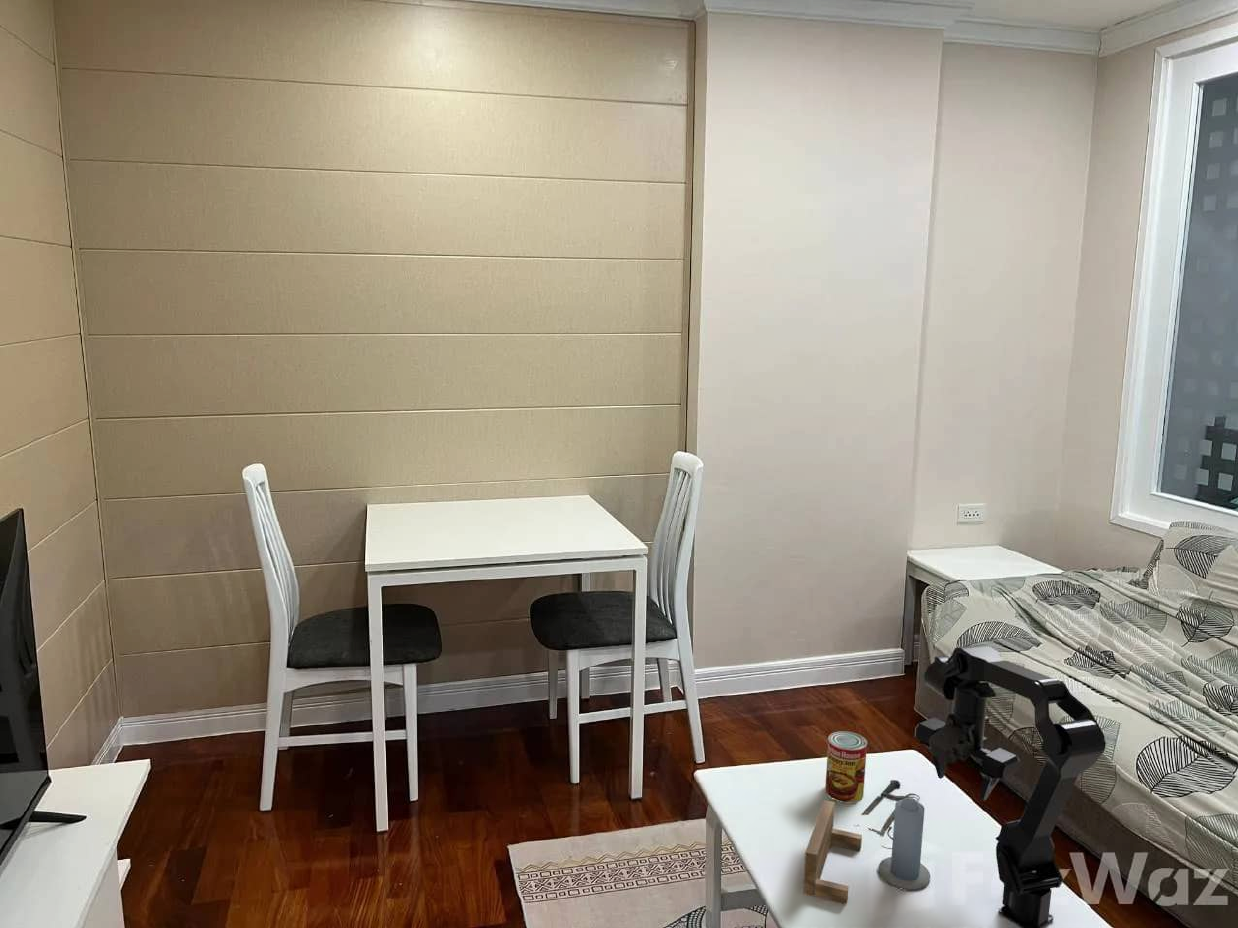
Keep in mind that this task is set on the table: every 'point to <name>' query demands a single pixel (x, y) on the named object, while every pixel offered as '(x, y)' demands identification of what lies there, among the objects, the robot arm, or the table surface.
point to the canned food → (846, 766)
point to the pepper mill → (907, 839)
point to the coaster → (899, 883)
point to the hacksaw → (885, 793)
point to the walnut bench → (819, 851)
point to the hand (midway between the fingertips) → (961, 788)
